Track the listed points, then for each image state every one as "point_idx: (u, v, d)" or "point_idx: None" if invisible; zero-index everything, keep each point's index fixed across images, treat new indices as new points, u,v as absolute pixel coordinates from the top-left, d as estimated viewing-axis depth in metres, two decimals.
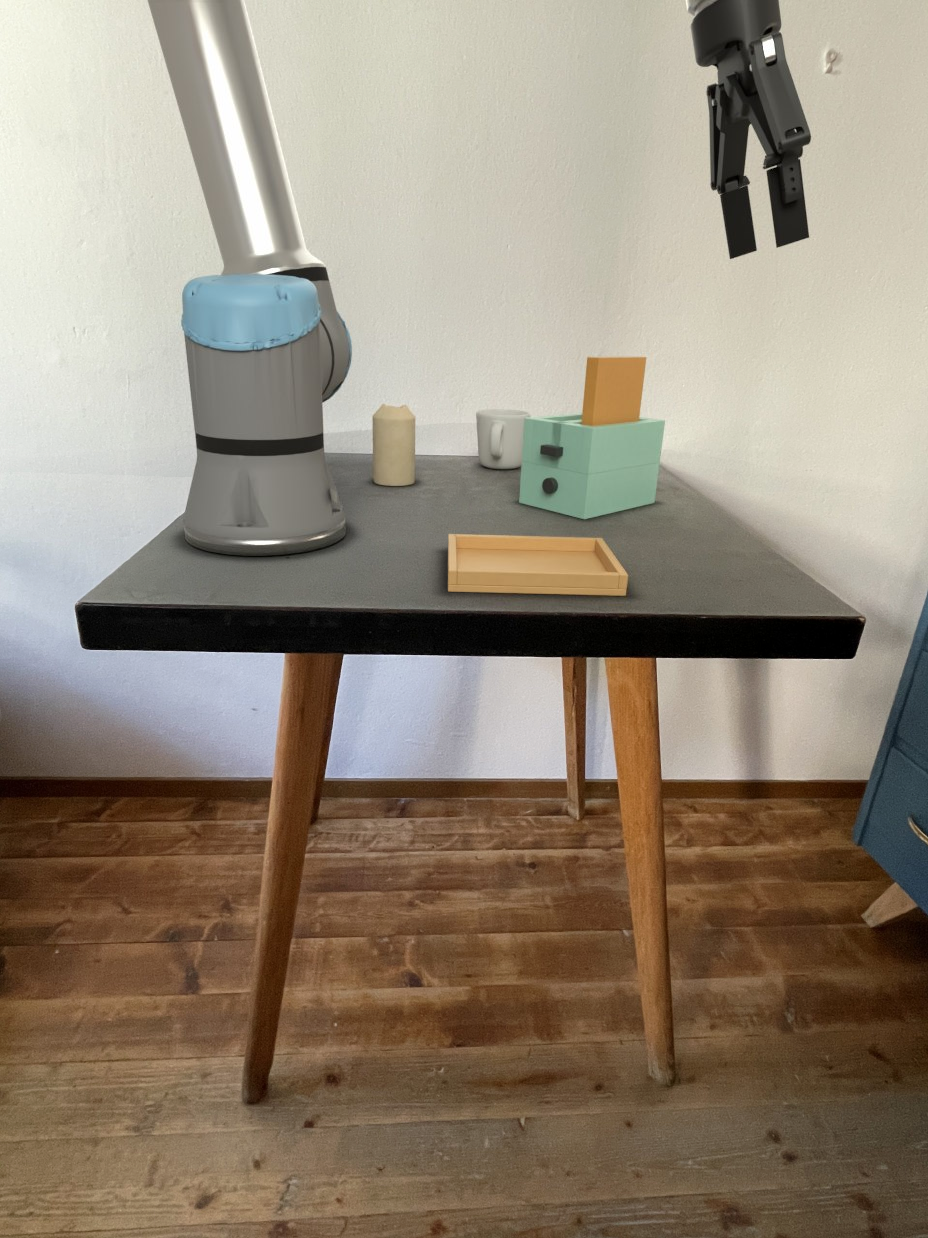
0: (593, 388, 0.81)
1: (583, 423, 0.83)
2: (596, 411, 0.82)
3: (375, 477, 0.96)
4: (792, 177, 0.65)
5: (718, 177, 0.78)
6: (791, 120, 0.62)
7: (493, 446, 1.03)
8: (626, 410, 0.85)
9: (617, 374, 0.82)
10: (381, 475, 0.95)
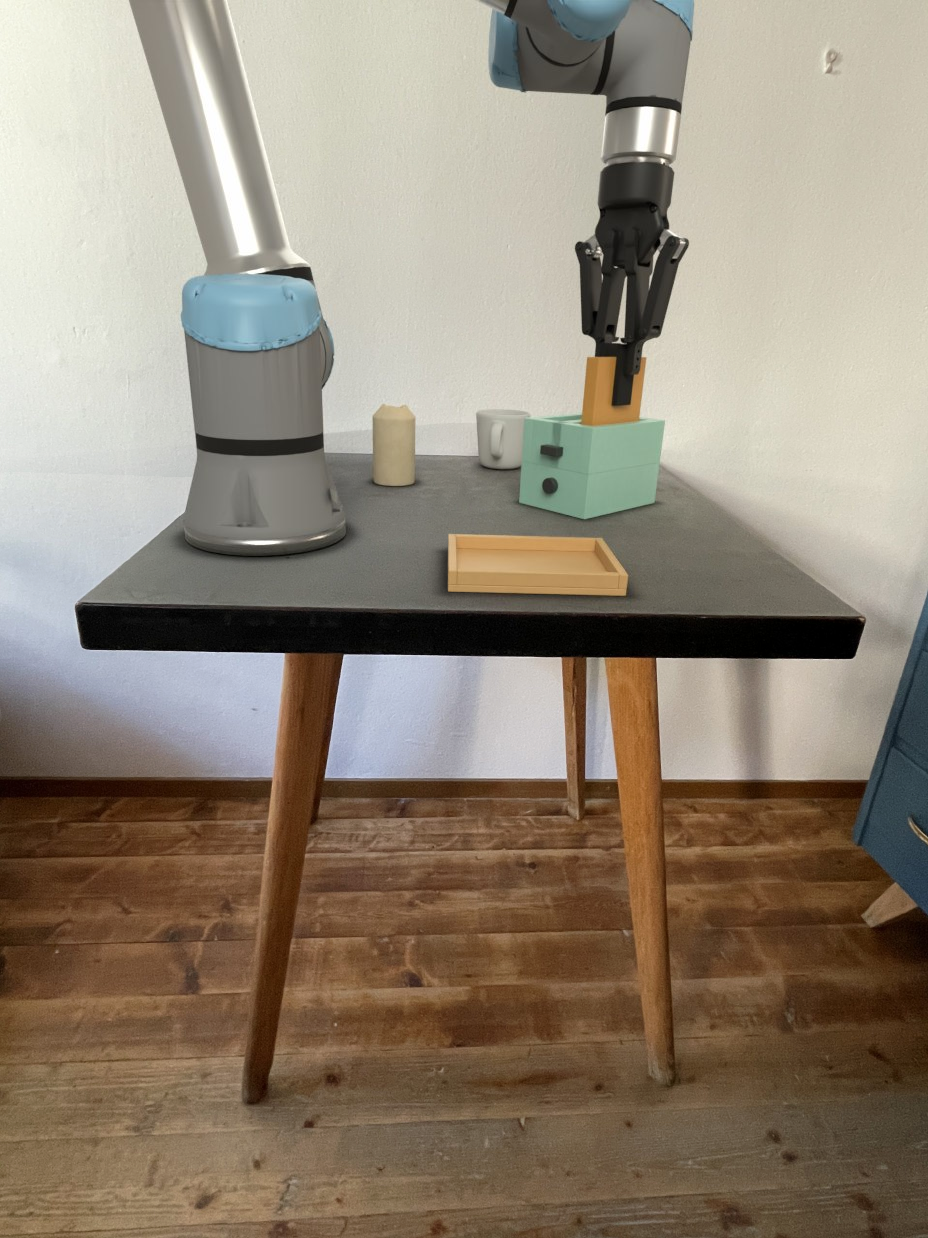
0: (593, 388, 0.81)
1: (583, 423, 0.83)
2: (596, 410, 0.82)
3: (375, 477, 0.96)
4: (637, 357, 0.81)
5: (598, 325, 0.82)
6: (658, 318, 0.78)
7: (493, 446, 1.03)
8: (626, 410, 0.85)
9: None
10: (381, 475, 0.95)
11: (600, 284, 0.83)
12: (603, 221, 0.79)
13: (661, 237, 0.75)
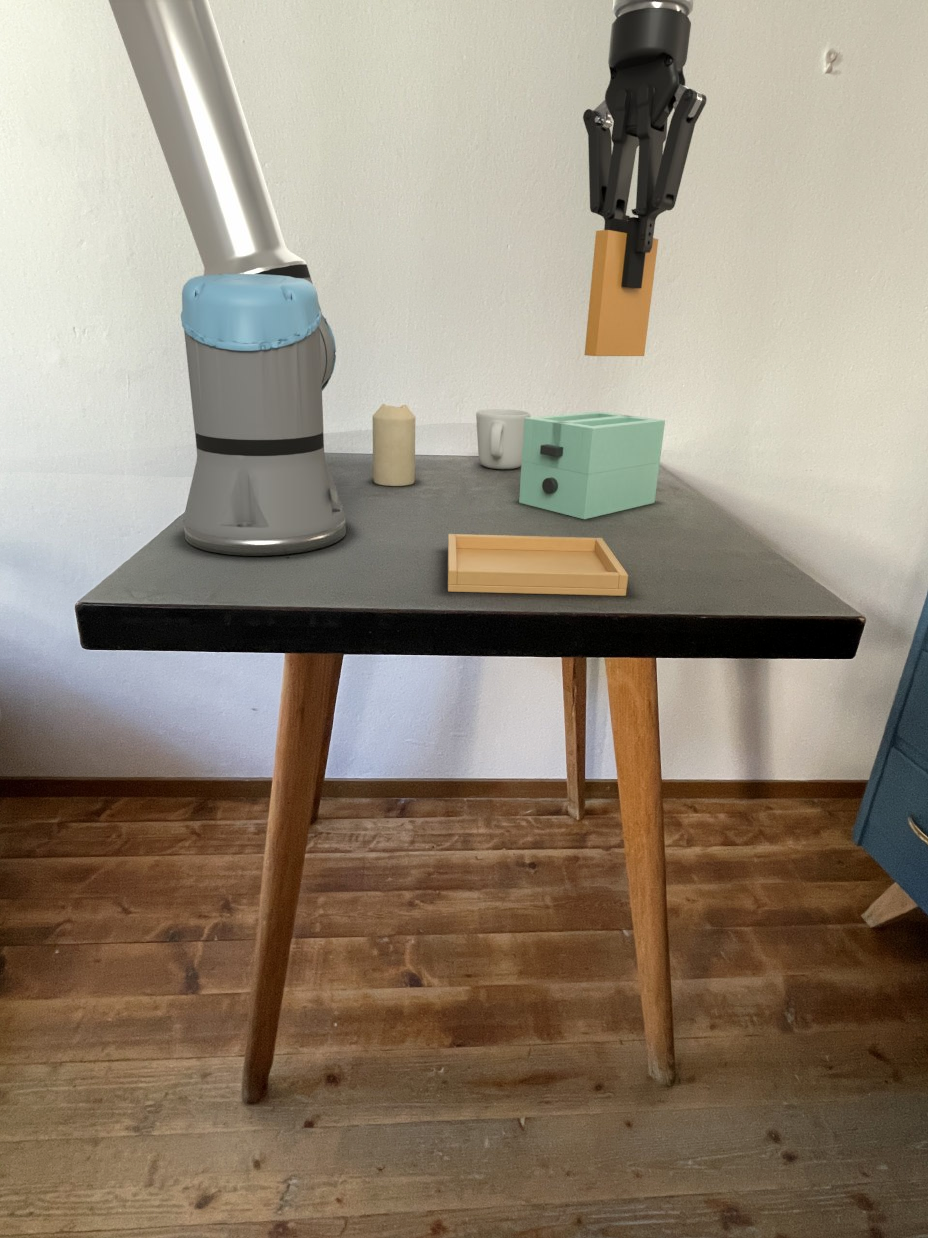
0: (602, 264, 0.76)
1: (591, 305, 0.78)
2: (605, 290, 0.77)
3: (375, 477, 0.96)
4: (649, 232, 0.76)
5: (607, 200, 0.77)
6: (673, 186, 0.73)
7: (493, 446, 1.03)
8: (636, 295, 0.80)
9: None
10: (381, 475, 0.95)
11: (610, 158, 0.78)
12: (614, 83, 0.74)
13: (676, 93, 0.70)
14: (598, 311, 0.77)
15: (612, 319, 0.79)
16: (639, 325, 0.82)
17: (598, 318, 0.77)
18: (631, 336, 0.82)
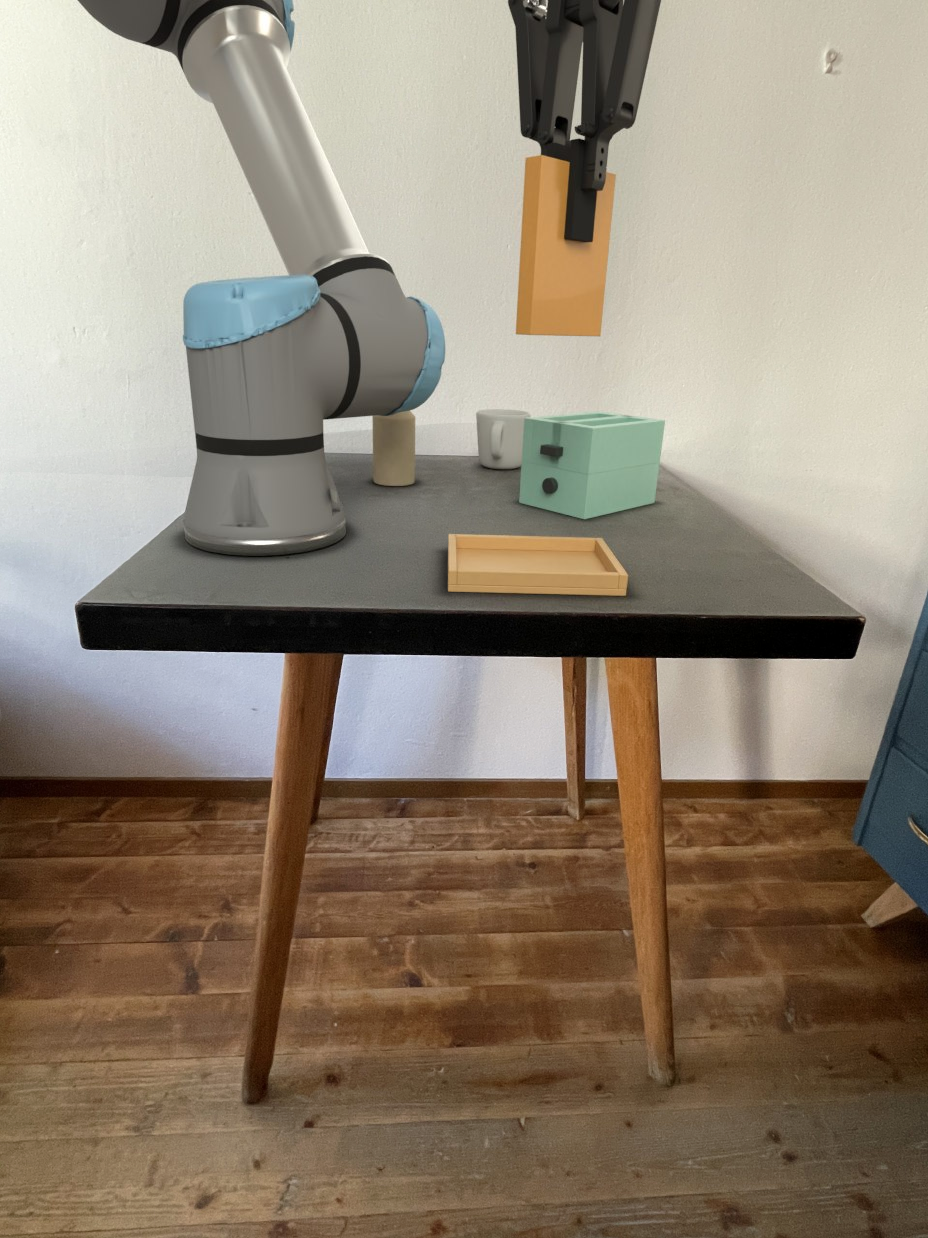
0: (535, 205, 0.54)
1: (522, 264, 0.56)
2: (540, 242, 0.55)
3: (375, 477, 0.96)
4: (601, 161, 0.54)
5: (543, 118, 0.55)
6: (631, 91, 0.51)
7: (493, 446, 1.03)
8: (586, 252, 0.59)
9: None
10: (381, 475, 0.95)
11: None
12: None
13: None
14: (532, 272, 0.56)
15: (553, 284, 0.57)
16: (592, 294, 0.61)
17: (532, 282, 0.56)
18: (580, 308, 0.60)
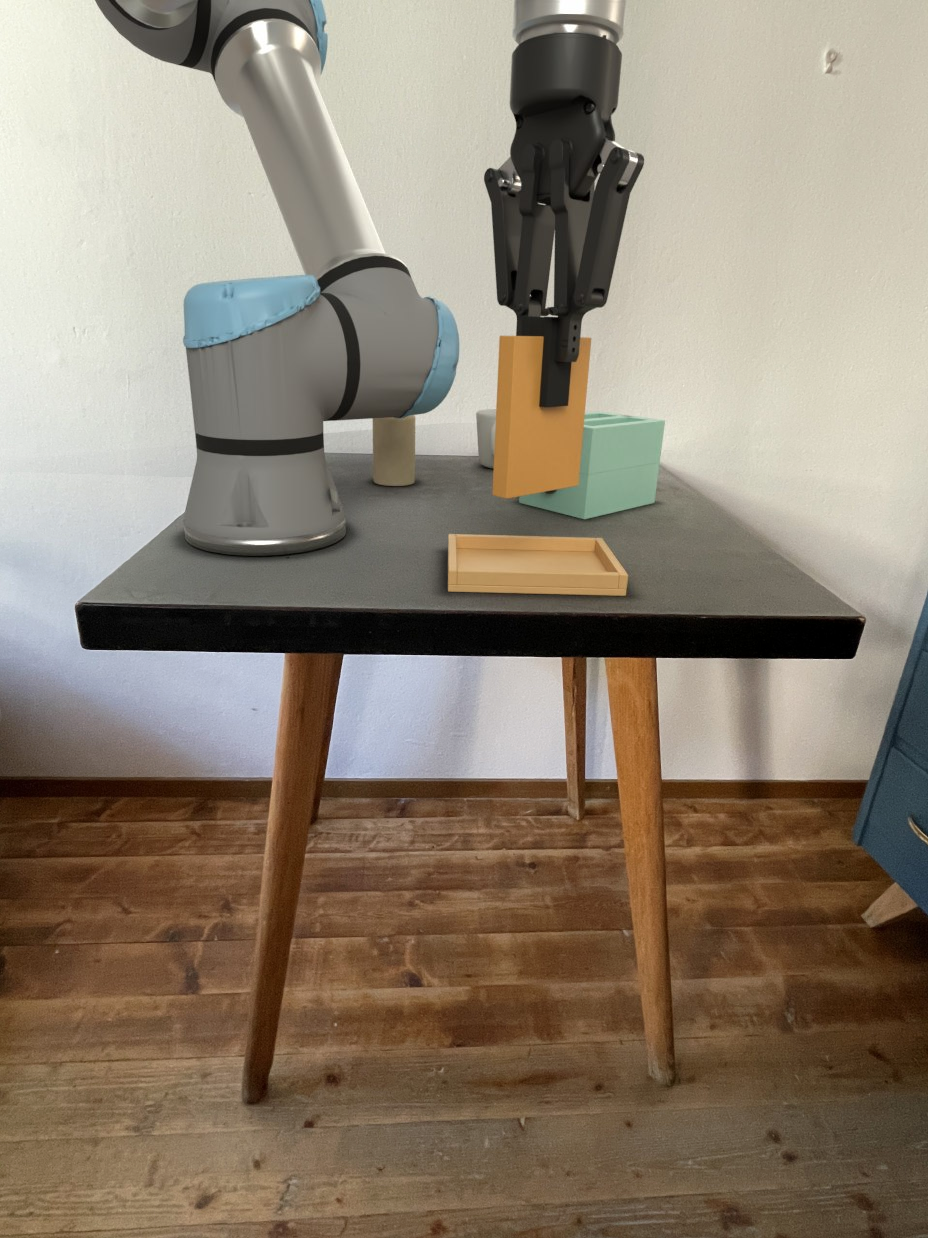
0: (509, 381, 0.55)
1: (497, 432, 0.57)
2: (514, 414, 0.56)
3: (375, 477, 0.96)
4: (574, 336, 0.55)
5: (518, 291, 0.57)
6: (602, 278, 0.53)
7: (493, 446, 1.03)
8: (562, 413, 0.60)
9: None
10: (381, 475, 0.95)
11: None
12: (520, 135, 0.53)
13: (602, 152, 0.50)
14: (506, 441, 0.57)
15: (528, 448, 0.58)
16: (569, 449, 0.62)
17: (507, 450, 0.57)
18: (557, 465, 0.61)
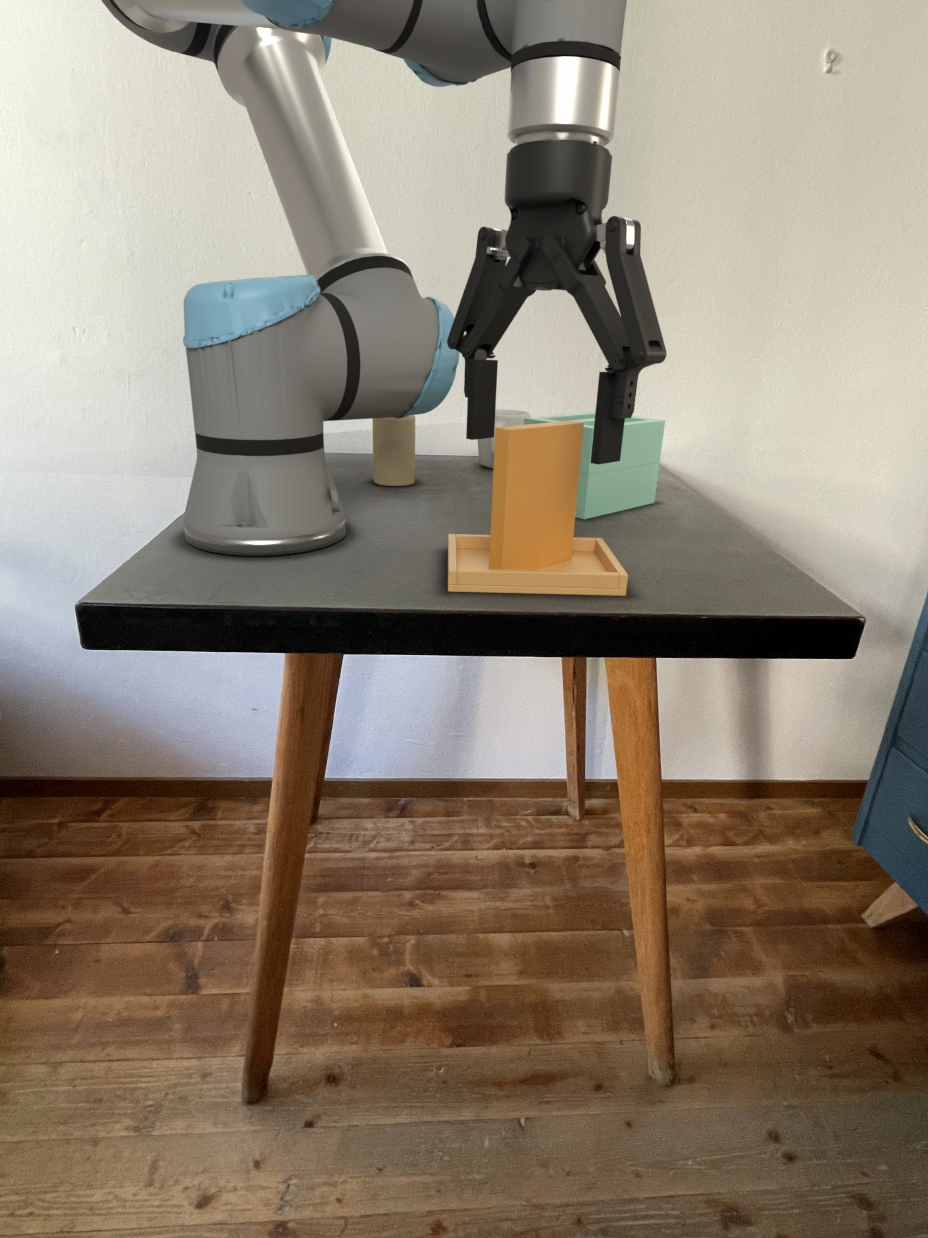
0: (504, 471, 0.58)
1: (493, 516, 0.60)
2: (509, 501, 0.59)
3: (375, 477, 0.96)
4: (630, 392, 0.53)
5: (470, 339, 0.61)
6: (651, 330, 0.51)
7: (493, 446, 1.03)
8: (556, 495, 0.62)
9: (541, 449, 0.59)
10: (381, 475, 0.95)
11: (493, 292, 0.61)
12: (515, 226, 0.56)
13: (598, 236, 0.51)
14: (502, 526, 0.59)
15: (523, 530, 0.61)
16: (563, 527, 0.64)
17: (502, 534, 0.59)
18: (551, 542, 0.64)
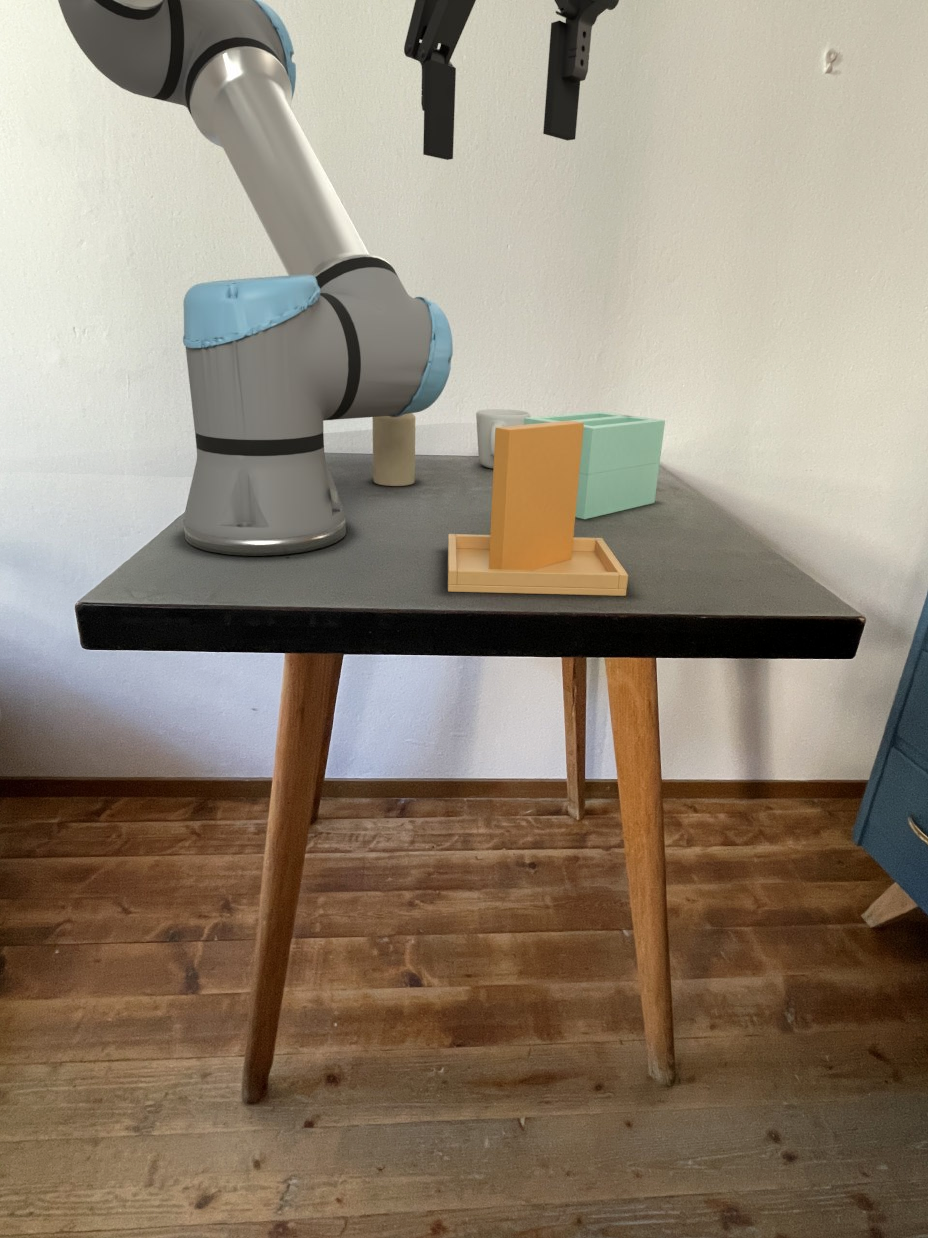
0: (504, 471, 0.58)
1: (493, 516, 0.60)
2: (509, 501, 0.59)
3: (375, 477, 0.96)
4: (583, 46, 0.51)
5: (426, 37, 0.59)
6: None
7: (493, 446, 1.03)
8: (556, 495, 0.62)
9: (541, 449, 0.59)
10: (381, 475, 0.95)
11: None
12: None
13: None
14: (502, 526, 0.59)
15: (523, 530, 0.61)
16: (563, 527, 0.64)
17: (502, 534, 0.59)
18: (551, 542, 0.64)
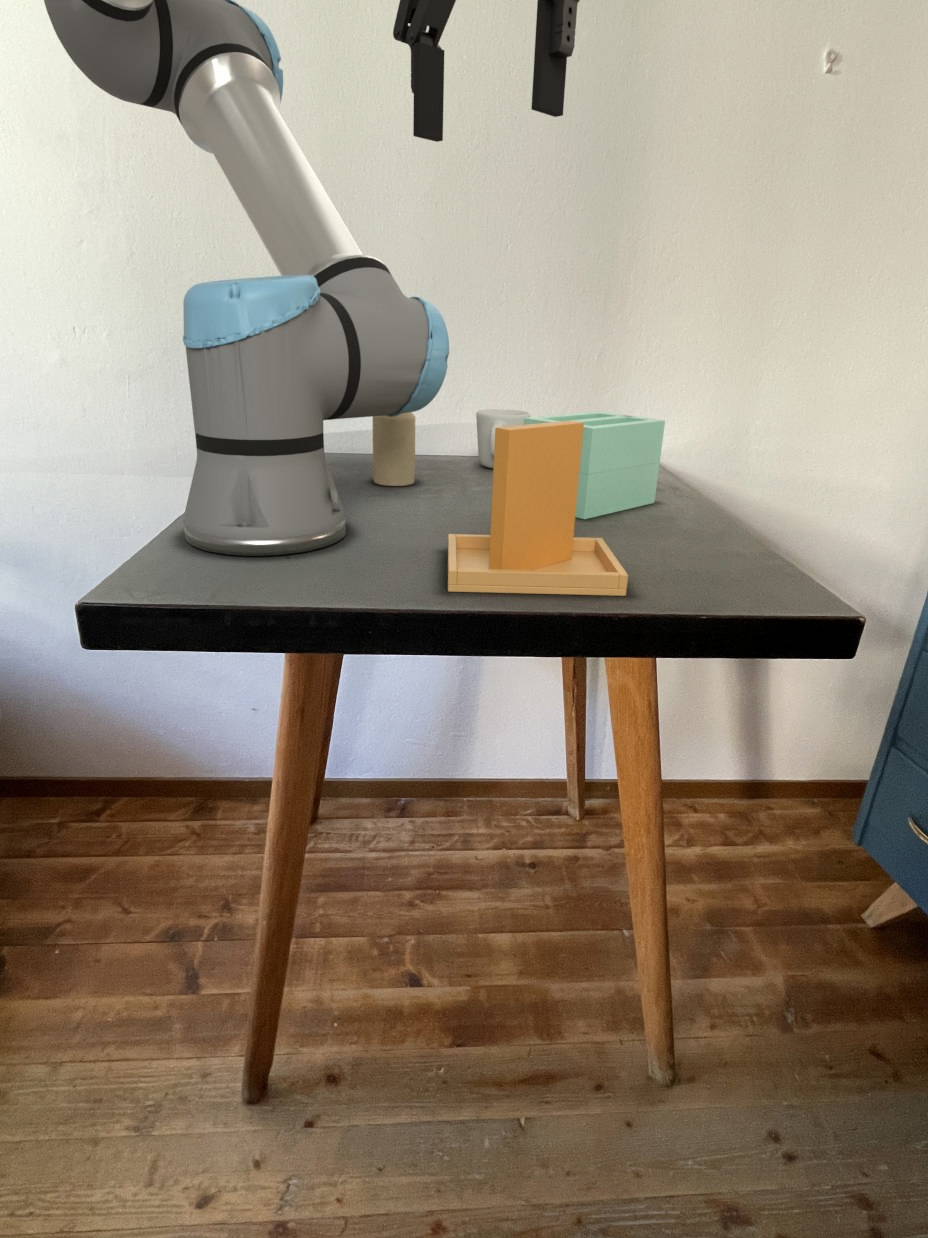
0: (504, 471, 0.58)
1: (493, 516, 0.60)
2: (509, 501, 0.59)
3: (375, 477, 0.96)
4: (569, 22, 0.52)
5: (414, 19, 0.60)
6: None
7: (493, 446, 1.03)
8: (556, 495, 0.62)
9: (541, 449, 0.59)
10: (381, 475, 0.95)
11: None
12: None
13: None
14: (502, 526, 0.59)
15: (523, 530, 0.61)
16: (563, 527, 0.64)
17: (502, 534, 0.59)
18: (551, 542, 0.64)
